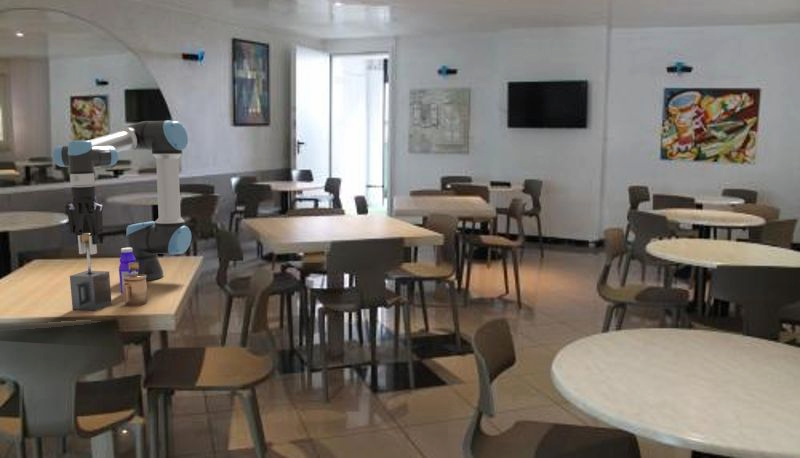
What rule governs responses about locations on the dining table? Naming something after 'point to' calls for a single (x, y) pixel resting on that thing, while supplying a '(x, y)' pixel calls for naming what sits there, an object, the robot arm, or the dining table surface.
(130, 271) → the bottle
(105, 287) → the cube with square hole
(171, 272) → the dining table surface
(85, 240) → the plunger tall
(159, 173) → the robot arm
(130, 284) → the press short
